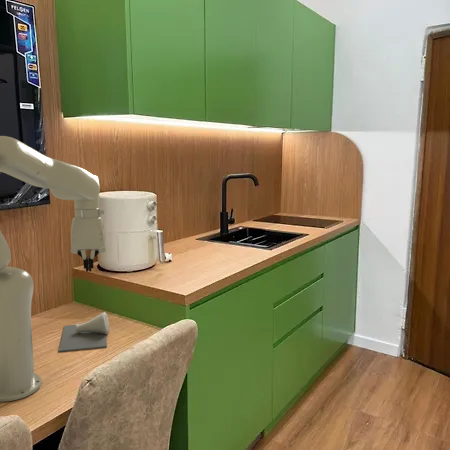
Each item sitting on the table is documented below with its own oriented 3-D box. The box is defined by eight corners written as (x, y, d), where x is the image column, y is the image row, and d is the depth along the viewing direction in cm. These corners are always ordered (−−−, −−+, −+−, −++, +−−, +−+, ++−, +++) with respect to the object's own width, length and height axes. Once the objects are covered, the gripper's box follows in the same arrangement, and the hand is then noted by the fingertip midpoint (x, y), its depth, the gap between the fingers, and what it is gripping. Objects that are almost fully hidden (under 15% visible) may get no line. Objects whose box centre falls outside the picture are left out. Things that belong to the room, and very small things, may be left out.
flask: (103, 321, 138) (72, 327, 137) (109, 338, 141) (78, 344, 140) (105, 307, 144) (75, 313, 143) (110, 323, 147) (81, 329, 147)
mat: (58, 352, 129) (58, 350, 129) (64, 327, 148) (64, 325, 148) (106, 347, 133) (106, 345, 133) (106, 323, 152) (106, 322, 152)
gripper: (111, 212, 140) (112, 266, 143) (63, 212, 136) (65, 268, 139) (111, 215, 133) (113, 272, 136) (60, 215, 129) (63, 274, 132)
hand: (88, 270), depth 137 cm, fingers closed
